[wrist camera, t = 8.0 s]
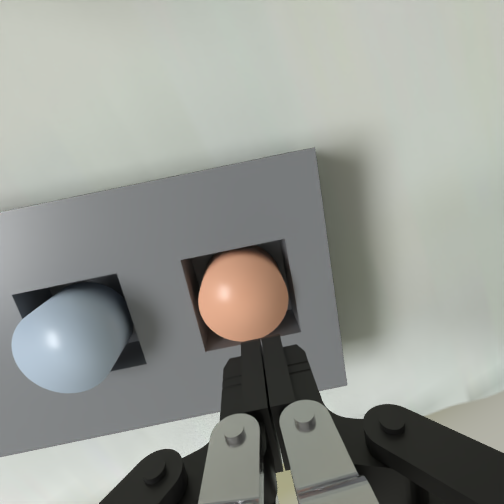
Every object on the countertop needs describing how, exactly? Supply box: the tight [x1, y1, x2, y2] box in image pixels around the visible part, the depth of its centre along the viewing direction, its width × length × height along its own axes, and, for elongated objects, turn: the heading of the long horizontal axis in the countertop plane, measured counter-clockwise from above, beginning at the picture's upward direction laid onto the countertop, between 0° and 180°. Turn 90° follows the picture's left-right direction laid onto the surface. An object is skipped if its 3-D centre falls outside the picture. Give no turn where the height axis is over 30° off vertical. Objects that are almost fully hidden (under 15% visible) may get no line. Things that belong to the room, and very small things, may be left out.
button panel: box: [0, 148, 347, 457], centre depth 19 cm, size 28×14×4 cm, turn 101°
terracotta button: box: [198, 245, 288, 342], centre depth 19 cm, size 5×5×3 cm
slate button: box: [11, 282, 134, 393], centre depth 17 cm, size 5×5×3 cm
